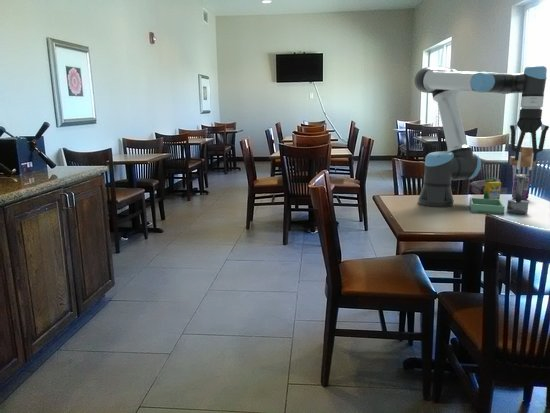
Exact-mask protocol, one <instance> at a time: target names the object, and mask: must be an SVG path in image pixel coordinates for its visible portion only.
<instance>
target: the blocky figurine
mask: <svg viewBox="0 0 550 413" xmlns="http://www.w3.org/2000/svg"><path fill="white" fill-rule="evenodd" d="M516 177H518V180H517V189H516V198H515V199H508V200H507V206H506V213H507V214H510V215H515V216H516V215H517V216H526V215H528V210H529V201H528V200H521V199H522V190H523V181H524V178H525V177H526V175H516Z"/></svg>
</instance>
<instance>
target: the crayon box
mask: <svg viewBox="0 0 550 413" xmlns="http://www.w3.org/2000/svg"><path fill="white" fill-rule="evenodd" d="M484 183H485V184H484V191H483V199H499V200H500V198H501V197H500V196H501V190H502V188H501V187H502V182H501V181H497V177H496V176H495V177H485V182H484Z"/></svg>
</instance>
